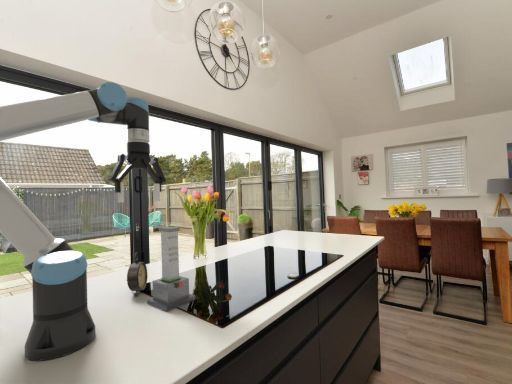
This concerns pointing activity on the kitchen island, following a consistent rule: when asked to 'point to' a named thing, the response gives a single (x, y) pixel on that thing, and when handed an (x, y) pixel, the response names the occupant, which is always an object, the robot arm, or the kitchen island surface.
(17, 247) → the robot arm
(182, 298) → the stand base
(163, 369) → the kitchen island surface
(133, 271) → the alarm clock
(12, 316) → the kitchen island surface
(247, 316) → the kitchen island surface
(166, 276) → the column
